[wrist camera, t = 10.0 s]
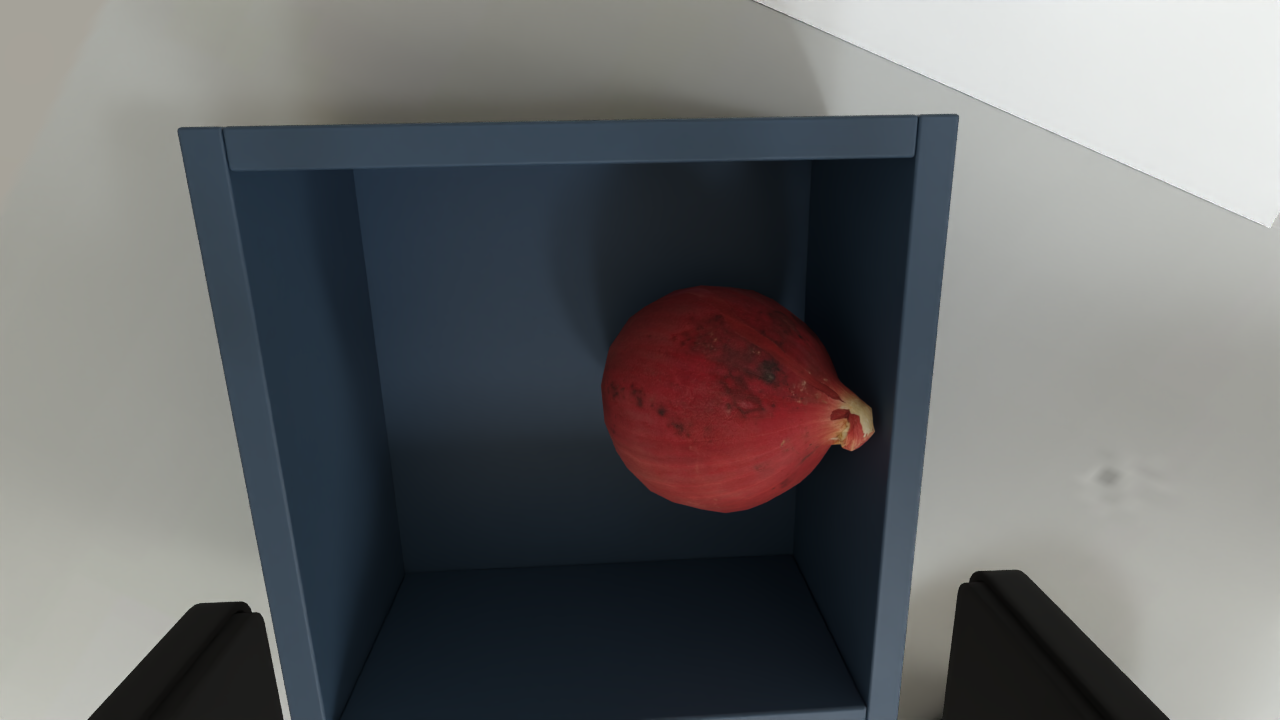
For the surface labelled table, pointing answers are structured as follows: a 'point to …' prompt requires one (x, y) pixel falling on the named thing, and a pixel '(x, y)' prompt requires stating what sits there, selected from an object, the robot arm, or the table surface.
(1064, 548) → the table surface
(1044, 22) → the teacup and saucer
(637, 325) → the pomegranate
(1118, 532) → the table surface
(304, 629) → the bin
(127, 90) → the table surface
